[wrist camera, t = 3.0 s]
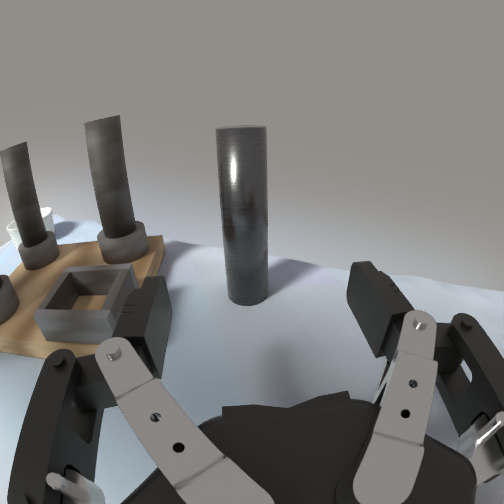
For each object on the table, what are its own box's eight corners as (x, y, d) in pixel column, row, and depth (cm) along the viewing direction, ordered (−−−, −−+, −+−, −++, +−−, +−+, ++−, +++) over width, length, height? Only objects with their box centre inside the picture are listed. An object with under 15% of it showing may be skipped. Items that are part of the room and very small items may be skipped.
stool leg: (228, 307, 24) (214, 130, 17) (227, 282, 27) (216, 126, 20) (270, 303, 24) (269, 128, 17) (265, 280, 27) (262, 124, 20)
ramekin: (31, 232, 41) (24, 211, 39) (66, 227, 41) (60, 203, 39) (6, 256, 33) (-3, 232, 31) (42, 252, 34) (33, 225, 32)
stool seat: (-24, 345, 17) (-88, 196, 9) (40, 260, 32) (11, 147, 24) (130, 366, 18) (57, 126, 10) (165, 250, 33) (146, 110, 25)
